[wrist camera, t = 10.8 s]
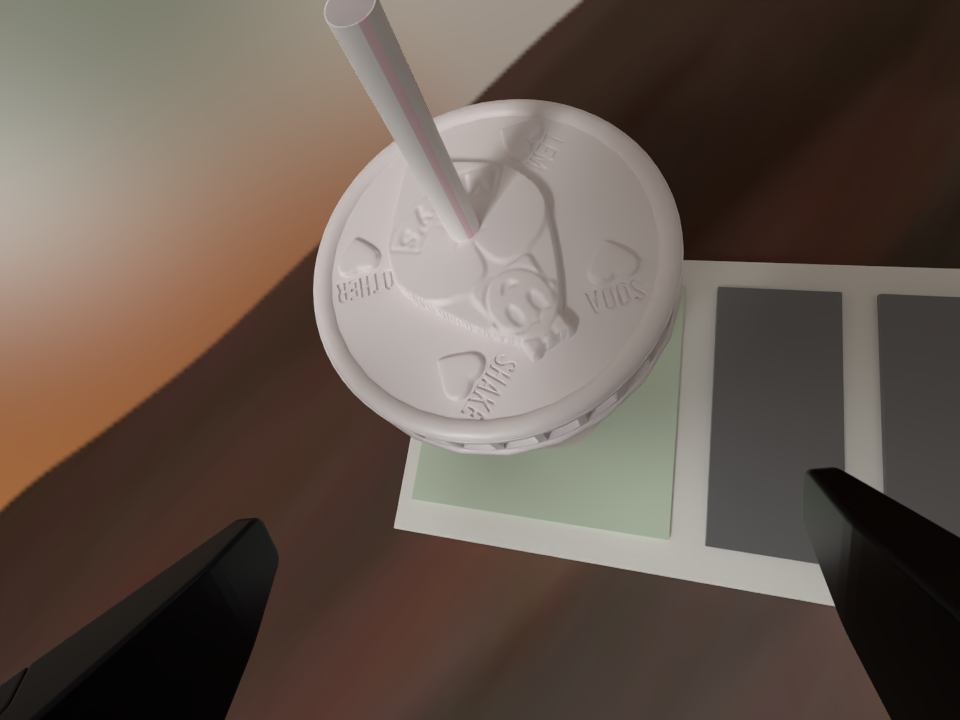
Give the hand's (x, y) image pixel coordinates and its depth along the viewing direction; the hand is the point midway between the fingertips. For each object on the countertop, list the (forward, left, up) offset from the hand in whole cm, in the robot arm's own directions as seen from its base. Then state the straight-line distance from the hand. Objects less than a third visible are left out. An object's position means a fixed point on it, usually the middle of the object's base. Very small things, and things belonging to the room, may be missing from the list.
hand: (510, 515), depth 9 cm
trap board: (+4, -3, -9) cm, 10 cm away
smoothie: (+4, +1, -8) cm, 9 cm away
